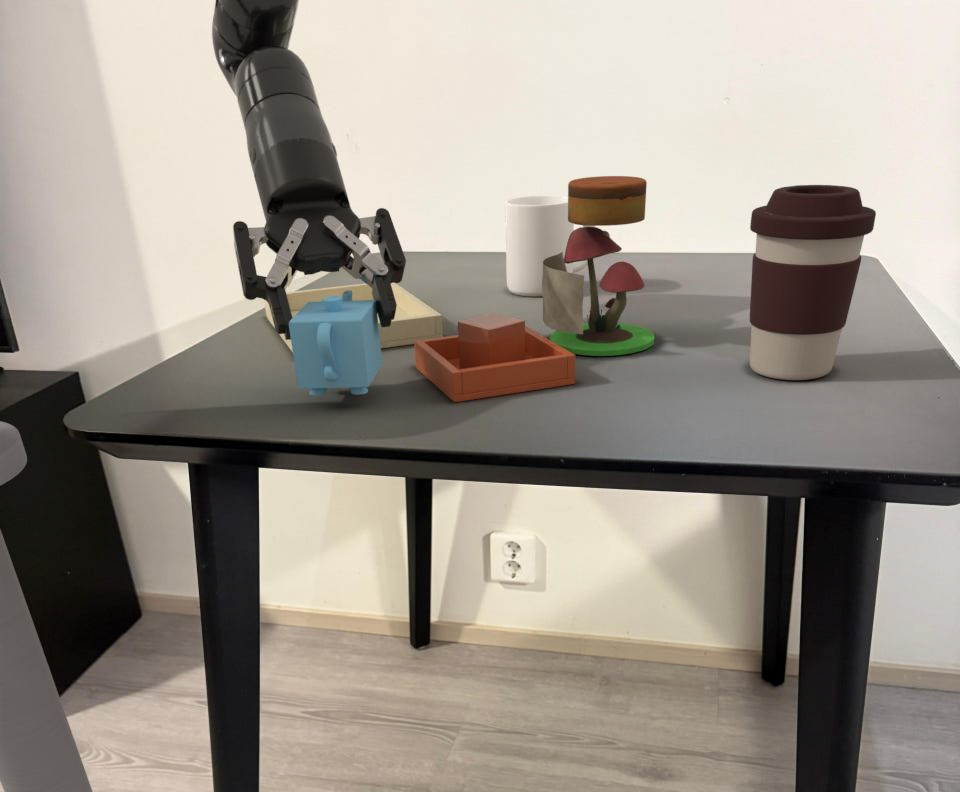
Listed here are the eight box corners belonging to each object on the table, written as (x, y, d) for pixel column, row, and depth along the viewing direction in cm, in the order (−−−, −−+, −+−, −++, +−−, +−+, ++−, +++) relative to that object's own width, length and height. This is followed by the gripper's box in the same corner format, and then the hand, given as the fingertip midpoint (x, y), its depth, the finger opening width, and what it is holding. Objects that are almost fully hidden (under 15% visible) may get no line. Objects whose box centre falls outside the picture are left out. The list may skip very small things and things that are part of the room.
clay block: (490, 379, 84) (488, 329, 81) (459, 369, 86) (457, 321, 84) (525, 368, 86) (525, 320, 83) (494, 359, 89) (493, 312, 86)
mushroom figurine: (627, 321, 101) (634, 169, 93) (678, 350, 91) (691, 182, 83) (525, 332, 99) (523, 177, 91) (565, 364, 89) (567, 192, 81)
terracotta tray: (454, 402, 80) (452, 372, 79) (415, 367, 90) (413, 340, 88) (575, 383, 83) (575, 355, 82) (526, 352, 93) (525, 325, 91)
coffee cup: (838, 355, 88) (868, 180, 80) (855, 387, 80) (891, 196, 71) (731, 354, 89) (750, 182, 81) (737, 385, 81) (759, 198, 73)
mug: (581, 277, 122) (583, 191, 116) (610, 289, 115) (614, 198, 109) (496, 287, 118) (494, 199, 113) (522, 300, 112) (521, 207, 106)
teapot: (325, 363, 88) (315, 280, 84) (388, 362, 87) (380, 278, 83) (295, 404, 78) (281, 312, 74) (366, 403, 77) (356, 310, 73)
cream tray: (297, 359, 93) (293, 333, 92) (266, 317, 109) (263, 294, 108) (443, 340, 98) (441, 314, 96) (393, 302, 113) (391, 280, 112)
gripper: (369, 190, 87) (412, 342, 84) (216, 203, 84) (256, 362, 81) (377, 129, 80) (425, 292, 77) (211, 140, 76) (255, 312, 73)
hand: (339, 328), depth 79 cm, fingers closed on teapot, 8 cm apart
